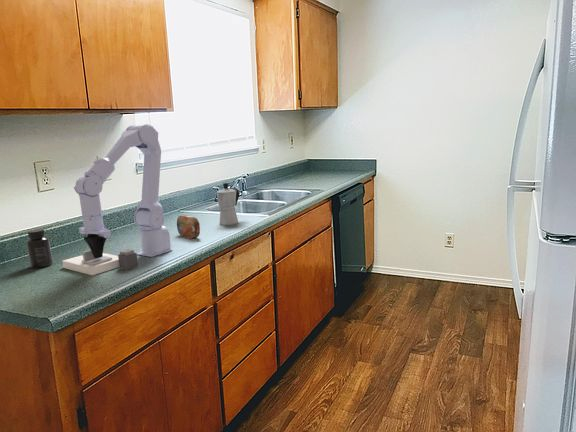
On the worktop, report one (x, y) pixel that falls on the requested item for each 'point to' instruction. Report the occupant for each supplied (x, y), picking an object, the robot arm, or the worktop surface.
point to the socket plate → (91, 269)
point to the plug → (127, 259)
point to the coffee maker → (228, 205)
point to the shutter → (91, 260)
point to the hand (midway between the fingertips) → (98, 257)
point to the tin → (188, 226)
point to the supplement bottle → (39, 249)
